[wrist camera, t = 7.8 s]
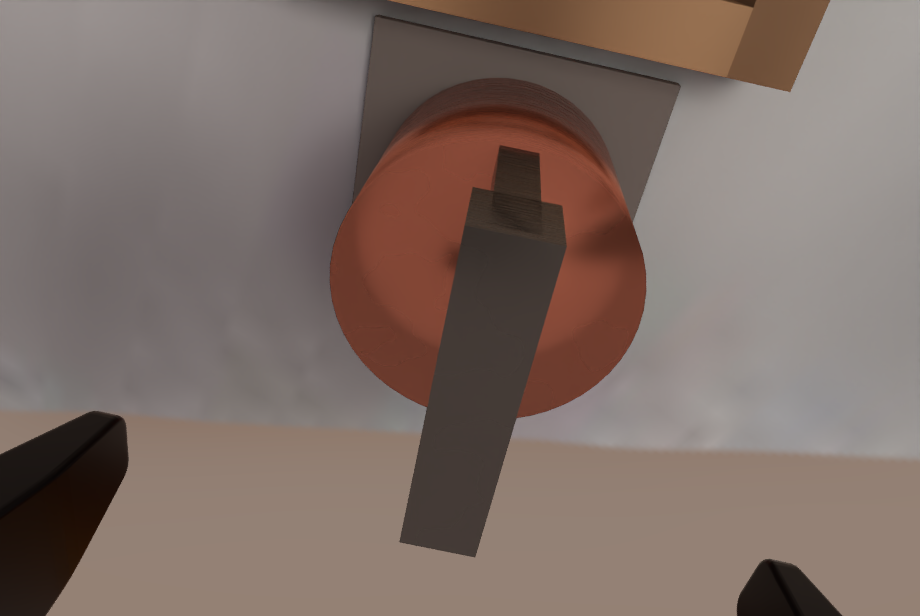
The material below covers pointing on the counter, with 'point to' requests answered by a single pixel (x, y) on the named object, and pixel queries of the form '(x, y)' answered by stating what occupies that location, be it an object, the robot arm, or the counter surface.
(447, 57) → the mat
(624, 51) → the holder
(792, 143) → the counter surface
